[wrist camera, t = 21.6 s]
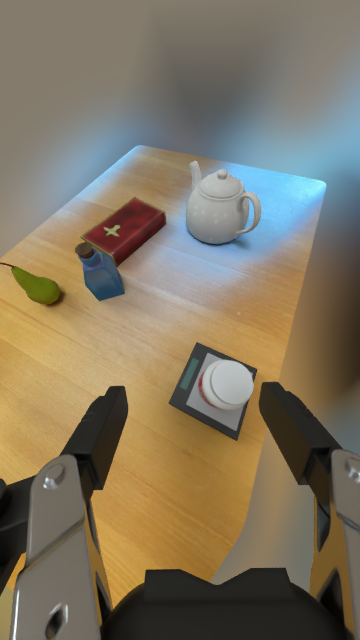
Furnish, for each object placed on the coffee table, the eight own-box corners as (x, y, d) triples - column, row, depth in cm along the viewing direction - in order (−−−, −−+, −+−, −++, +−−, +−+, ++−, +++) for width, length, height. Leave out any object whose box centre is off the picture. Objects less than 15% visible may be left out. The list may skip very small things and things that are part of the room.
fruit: (71, 296, 41) (29, 259, 30) (48, 313, 39) (-5, 281, 28) (56, 283, 43) (13, 243, 32) (34, 299, 41) (-20, 263, 30)
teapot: (179, 246, 47) (177, 192, 35) (188, 206, 55) (189, 150, 42) (246, 253, 45) (270, 199, 33) (246, 210, 53) (265, 153, 41)
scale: (252, 371, 33) (258, 368, 30) (233, 437, 28) (238, 442, 25) (196, 345, 35) (197, 341, 32) (169, 403, 31) (168, 403, 28)
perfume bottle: (95, 281, 43) (65, 241, 32) (119, 274, 43) (98, 233, 32) (99, 300, 40) (67, 264, 29) (124, 293, 41) (102, 255, 30)
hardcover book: (166, 224, 51) (165, 210, 47) (117, 267, 44) (110, 255, 41) (137, 210, 54) (134, 196, 51) (87, 248, 48) (79, 235, 44)
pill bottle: (190, 390, 29) (193, 386, 19) (210, 361, 31) (223, 343, 21) (221, 416, 27) (243, 427, 17) (240, 383, 29) (270, 376, 19)
